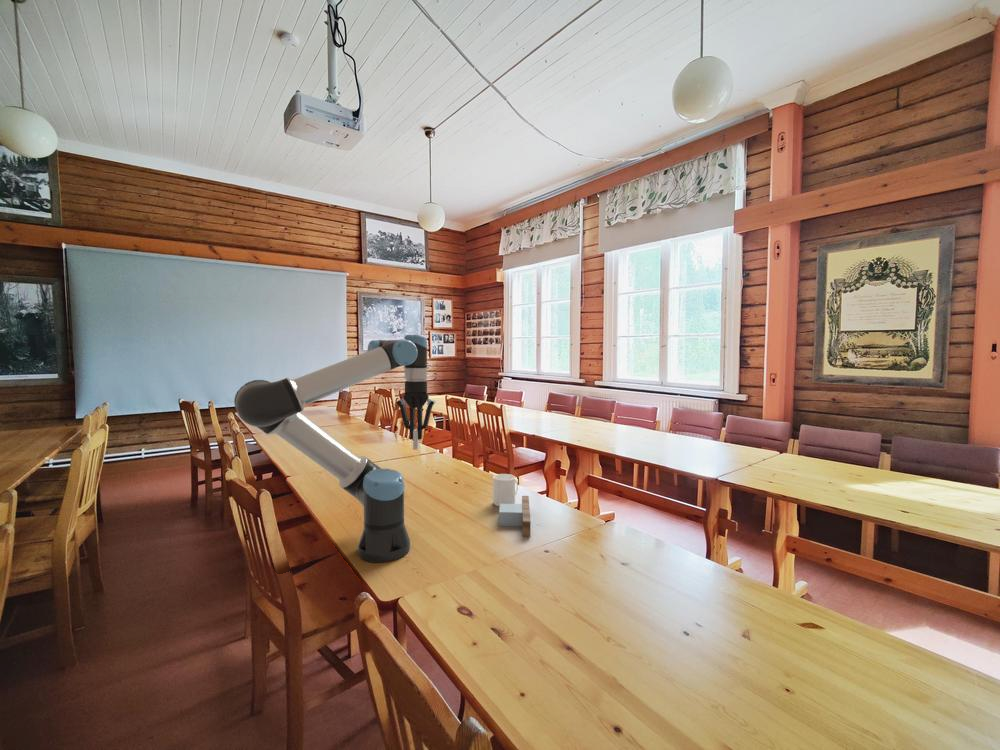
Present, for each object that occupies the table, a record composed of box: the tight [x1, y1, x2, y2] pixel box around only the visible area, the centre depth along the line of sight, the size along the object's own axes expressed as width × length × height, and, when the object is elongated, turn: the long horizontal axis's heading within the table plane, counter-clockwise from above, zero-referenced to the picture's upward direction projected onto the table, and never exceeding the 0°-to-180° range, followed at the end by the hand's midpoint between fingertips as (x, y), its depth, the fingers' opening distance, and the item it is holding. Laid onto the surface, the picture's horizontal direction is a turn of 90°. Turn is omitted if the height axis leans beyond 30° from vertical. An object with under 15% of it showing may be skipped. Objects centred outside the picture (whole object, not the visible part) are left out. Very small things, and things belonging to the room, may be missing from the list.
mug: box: [492, 473, 519, 508], centre depth 168 cm, size 9×12×11 cm
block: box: [498, 503, 522, 527], centre depth 150 cm, size 8×8×5 cm
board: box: [521, 495, 531, 537], centre depth 150 cm, size 24×2×5 cm, turn 178°
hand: (416, 448), depth 146 cm, fingers closed
